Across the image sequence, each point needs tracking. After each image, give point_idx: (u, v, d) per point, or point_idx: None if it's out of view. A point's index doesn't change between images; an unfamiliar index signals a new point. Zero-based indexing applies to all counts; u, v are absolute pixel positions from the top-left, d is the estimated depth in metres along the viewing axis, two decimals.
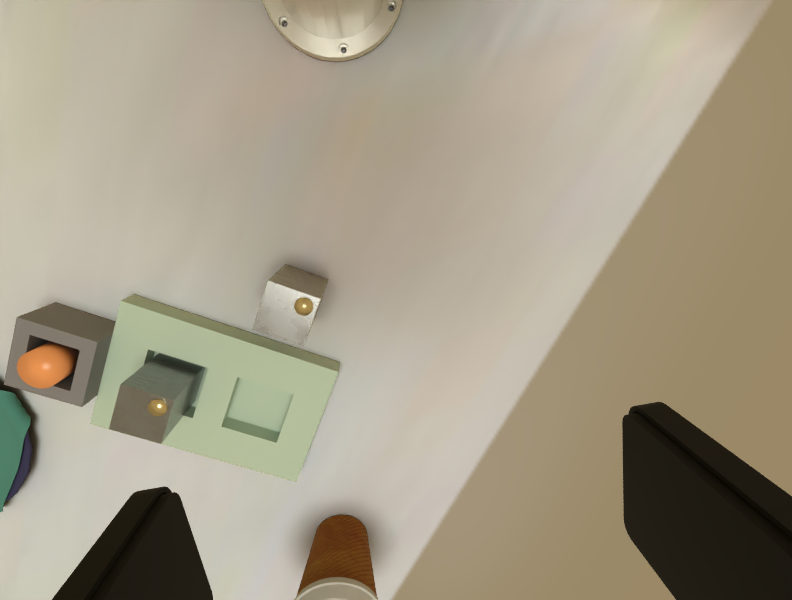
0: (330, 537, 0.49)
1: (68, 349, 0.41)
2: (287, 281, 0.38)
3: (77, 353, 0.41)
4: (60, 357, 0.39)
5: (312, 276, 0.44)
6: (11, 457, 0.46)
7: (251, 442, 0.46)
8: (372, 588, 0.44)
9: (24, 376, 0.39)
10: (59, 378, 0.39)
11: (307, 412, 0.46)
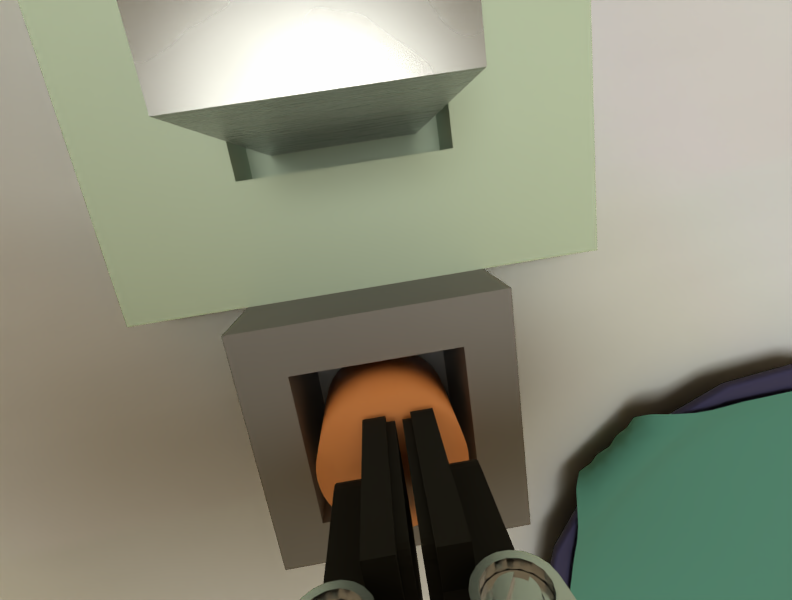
0: None
1: (327, 399, 0.12)
2: None
3: (342, 370, 0.12)
4: (327, 417, 0.10)
5: None
6: (769, 414, 0.17)
7: None
8: None
9: None
10: (394, 394, 0.10)
11: None
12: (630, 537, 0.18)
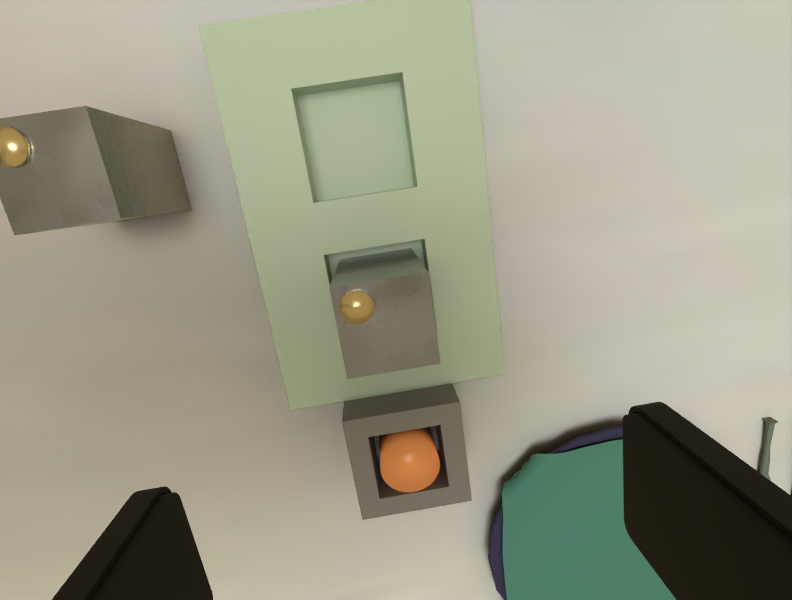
0: None
1: (381, 437, 0.28)
2: None
3: None
4: (383, 447, 0.26)
5: None
6: (603, 452, 0.32)
7: (424, 119, 0.24)
8: None
9: (428, 478, 0.26)
10: (410, 439, 0.26)
11: (310, 43, 0.22)
12: (535, 518, 0.33)
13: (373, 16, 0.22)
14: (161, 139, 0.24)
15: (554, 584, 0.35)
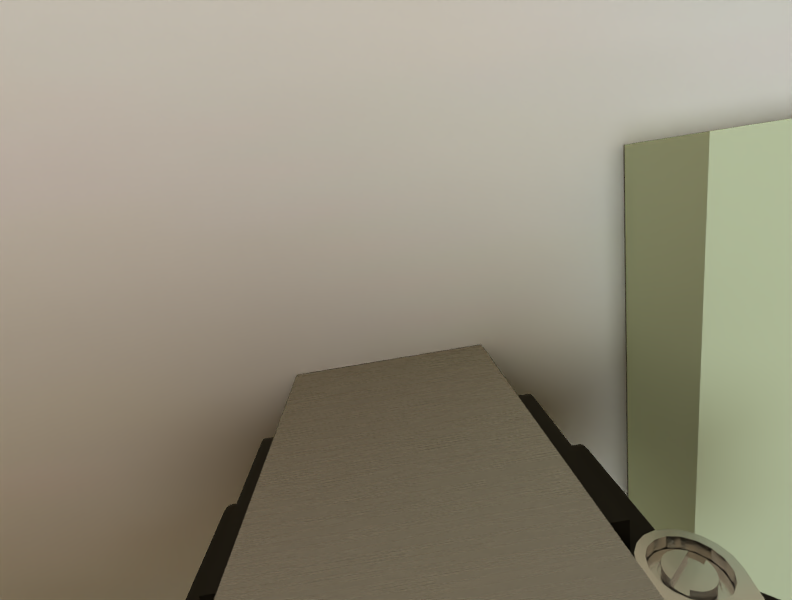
0: None
1: None
2: None
3: None
4: None
5: None
6: None
7: None
8: None
9: None
10: None
11: None
12: None
13: None
14: None
15: None
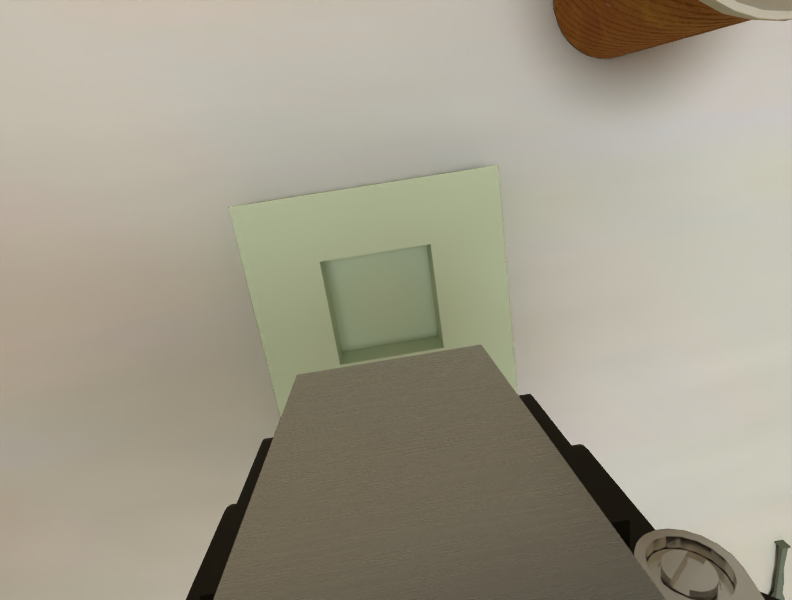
0: (595, 18, 0.20)
1: None
2: None
3: None
4: None
5: None
6: None
7: (451, 286, 0.24)
8: None
9: None
10: None
11: (339, 220, 0.23)
12: None
13: (402, 194, 0.22)
14: None
15: None
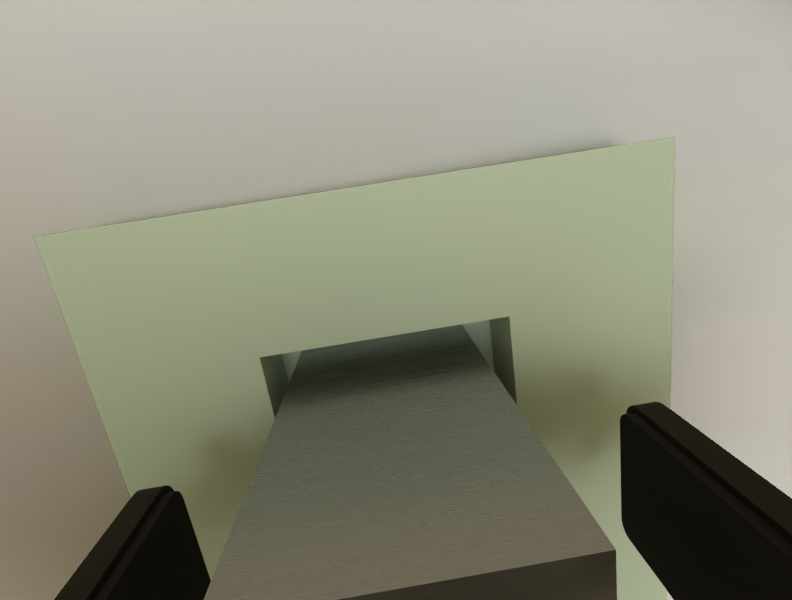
0: None
1: None
2: None
3: None
4: None
5: None
6: None
7: (550, 403, 0.11)
8: None
9: None
10: None
11: (303, 265, 0.10)
12: None
13: (450, 206, 0.10)
14: None
15: None
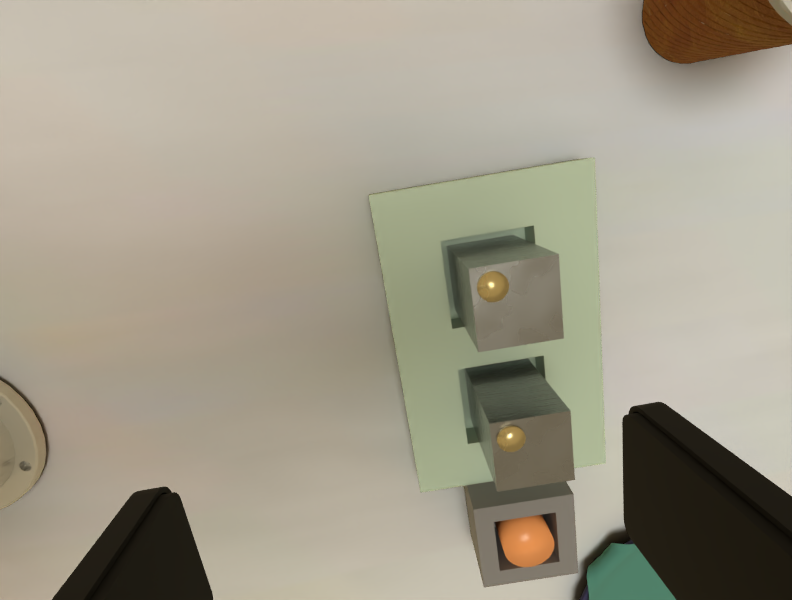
0: (686, 32, 0.24)
1: None
2: (469, 318, 0.25)
3: None
4: (505, 528, 0.31)
5: (451, 271, 0.29)
6: None
7: None
8: None
9: (544, 555, 0.31)
10: (530, 524, 0.30)
11: (459, 205, 0.27)
12: (616, 594, 0.38)
13: (512, 183, 0.27)
14: None
15: None
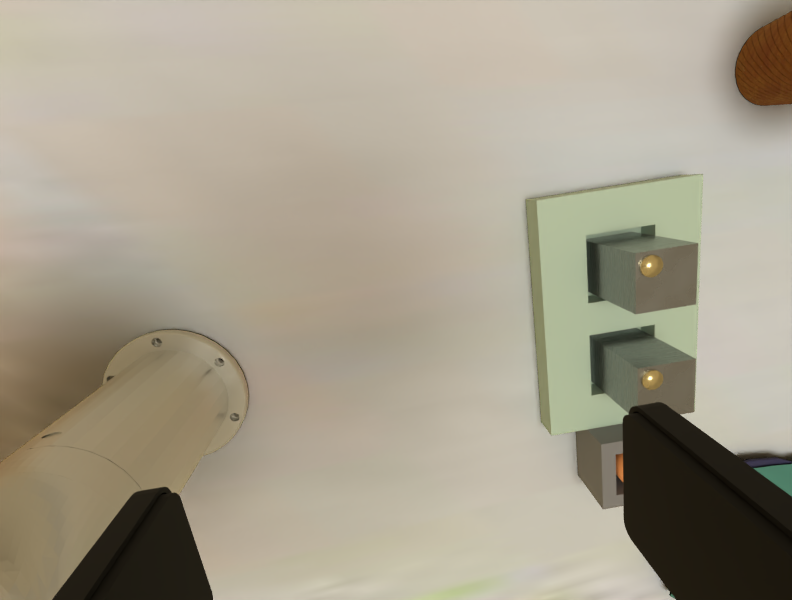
0: (777, 87, 0.33)
1: None
2: (621, 291, 0.33)
3: None
4: (622, 461, 0.40)
5: (588, 259, 0.38)
6: None
7: None
8: None
9: None
10: None
11: (602, 208, 0.36)
12: None
13: (642, 192, 0.36)
14: None
15: None
